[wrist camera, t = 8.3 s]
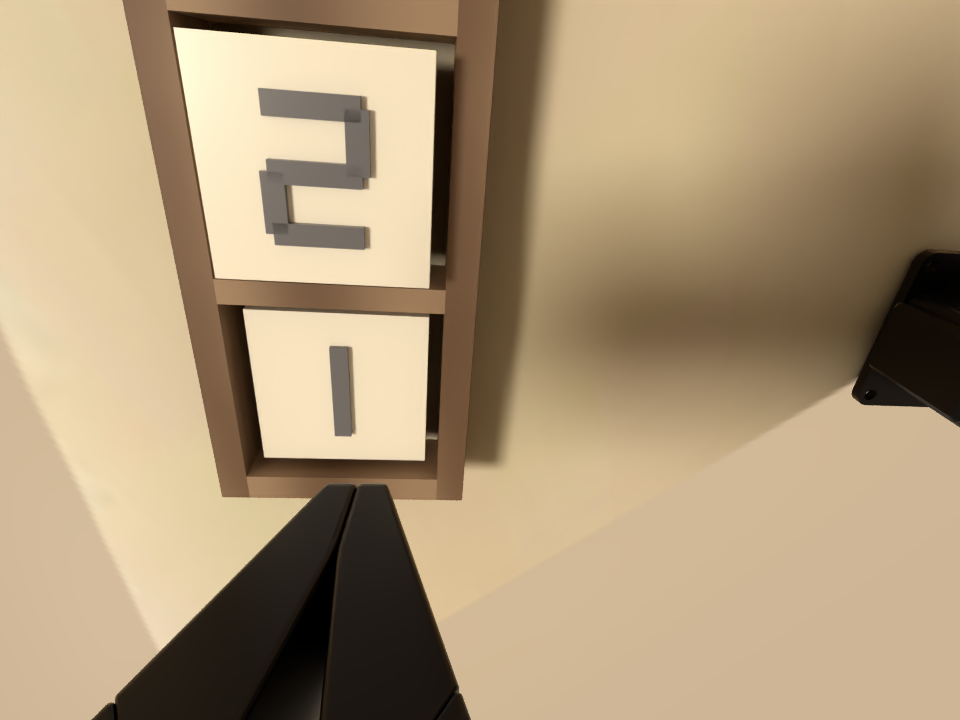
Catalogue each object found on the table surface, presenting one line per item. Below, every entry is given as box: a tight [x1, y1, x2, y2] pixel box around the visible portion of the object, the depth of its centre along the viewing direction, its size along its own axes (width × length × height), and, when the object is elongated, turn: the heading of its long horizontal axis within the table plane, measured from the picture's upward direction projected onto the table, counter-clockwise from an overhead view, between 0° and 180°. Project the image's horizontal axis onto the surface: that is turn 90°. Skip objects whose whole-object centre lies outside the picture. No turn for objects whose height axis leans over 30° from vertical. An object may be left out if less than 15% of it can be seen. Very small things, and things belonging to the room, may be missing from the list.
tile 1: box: [243, 305, 430, 461], centre depth 19 cm, size 6×6×2 cm
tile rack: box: [123, 0, 499, 500], centre depth 16 cm, size 9×24×2 cm, turn 176°
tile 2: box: [173, 27, 437, 289], centre depth 14 cm, size 6×6×2 cm
